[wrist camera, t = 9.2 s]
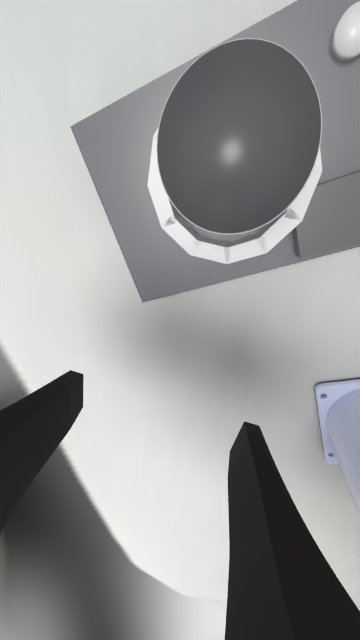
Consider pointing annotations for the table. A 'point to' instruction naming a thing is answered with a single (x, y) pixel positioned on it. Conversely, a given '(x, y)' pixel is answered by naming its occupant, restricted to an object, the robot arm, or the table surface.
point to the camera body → (284, 231)
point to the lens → (239, 136)
